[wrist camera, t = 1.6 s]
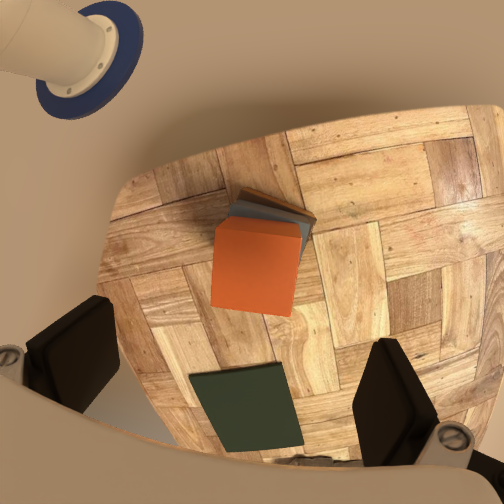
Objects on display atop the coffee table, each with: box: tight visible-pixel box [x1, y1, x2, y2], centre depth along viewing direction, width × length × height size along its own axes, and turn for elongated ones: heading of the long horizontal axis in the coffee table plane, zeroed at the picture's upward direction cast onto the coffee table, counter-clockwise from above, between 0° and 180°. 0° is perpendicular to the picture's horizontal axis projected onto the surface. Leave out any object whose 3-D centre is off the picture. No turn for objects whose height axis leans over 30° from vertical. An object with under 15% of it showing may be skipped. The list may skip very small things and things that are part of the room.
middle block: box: [228, 199, 310, 267], centre depth 24 cm, size 6×6×4 cm
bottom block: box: [237, 187, 317, 251], centre depth 28 cm, size 7×7×4 cm
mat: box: [188, 362, 304, 452], centre depth 36 cm, size 16×12×1 cm
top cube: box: [211, 216, 302, 317], centre depth 20 cm, size 5×5×5 cm
